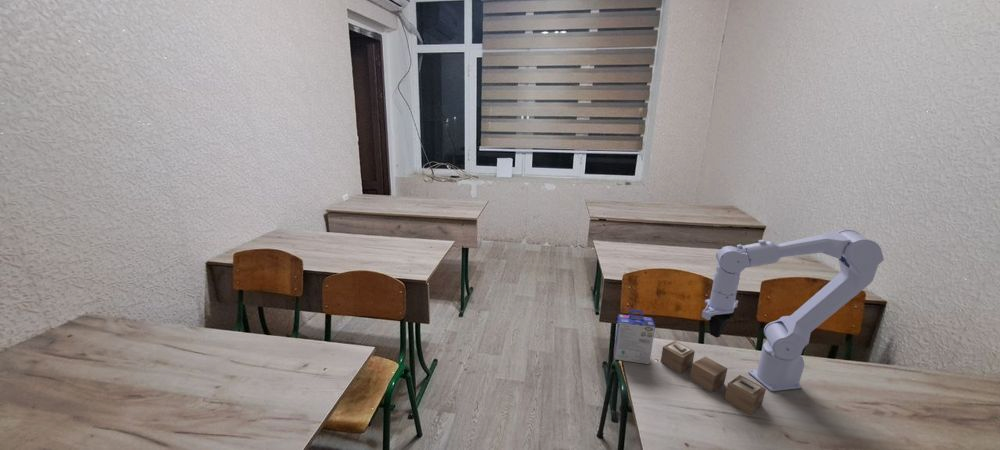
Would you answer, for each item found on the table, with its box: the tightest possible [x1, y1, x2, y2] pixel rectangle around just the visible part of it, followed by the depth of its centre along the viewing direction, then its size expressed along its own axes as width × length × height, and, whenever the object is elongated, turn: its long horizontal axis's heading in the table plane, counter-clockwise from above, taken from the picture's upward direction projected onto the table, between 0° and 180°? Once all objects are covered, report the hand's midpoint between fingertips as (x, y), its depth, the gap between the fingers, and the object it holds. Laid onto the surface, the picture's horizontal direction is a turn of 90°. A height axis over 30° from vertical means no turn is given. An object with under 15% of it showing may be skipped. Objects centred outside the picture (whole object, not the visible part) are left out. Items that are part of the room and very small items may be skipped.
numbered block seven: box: [660, 340, 696, 374], centre depth 108 cm, size 6×6×5 cm
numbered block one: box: [723, 374, 767, 416], centre depth 94 cm, size 6×6×5 cm
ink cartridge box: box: [613, 308, 656, 365], centre depth 110 cm, size 10×6×14 cm, turn 78°
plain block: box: [689, 356, 728, 393], centre depth 101 cm, size 6×6×5 cm
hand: (714, 335), depth 106 cm, fingers closed
